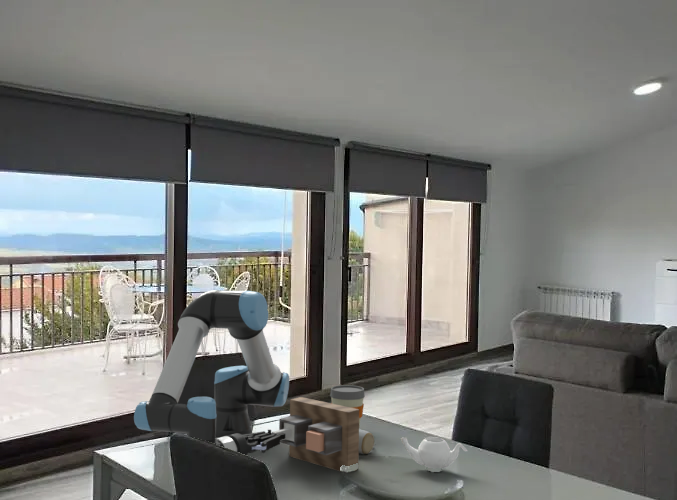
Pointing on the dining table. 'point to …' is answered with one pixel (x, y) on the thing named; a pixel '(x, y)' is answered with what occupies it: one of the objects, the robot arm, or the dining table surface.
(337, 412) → the key panel
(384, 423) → the dining table surface
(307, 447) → the terracotta key
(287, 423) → the white key
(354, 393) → the reusable coffee cup
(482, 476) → the dining table surface
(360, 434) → the grey canister
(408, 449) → the teapot
